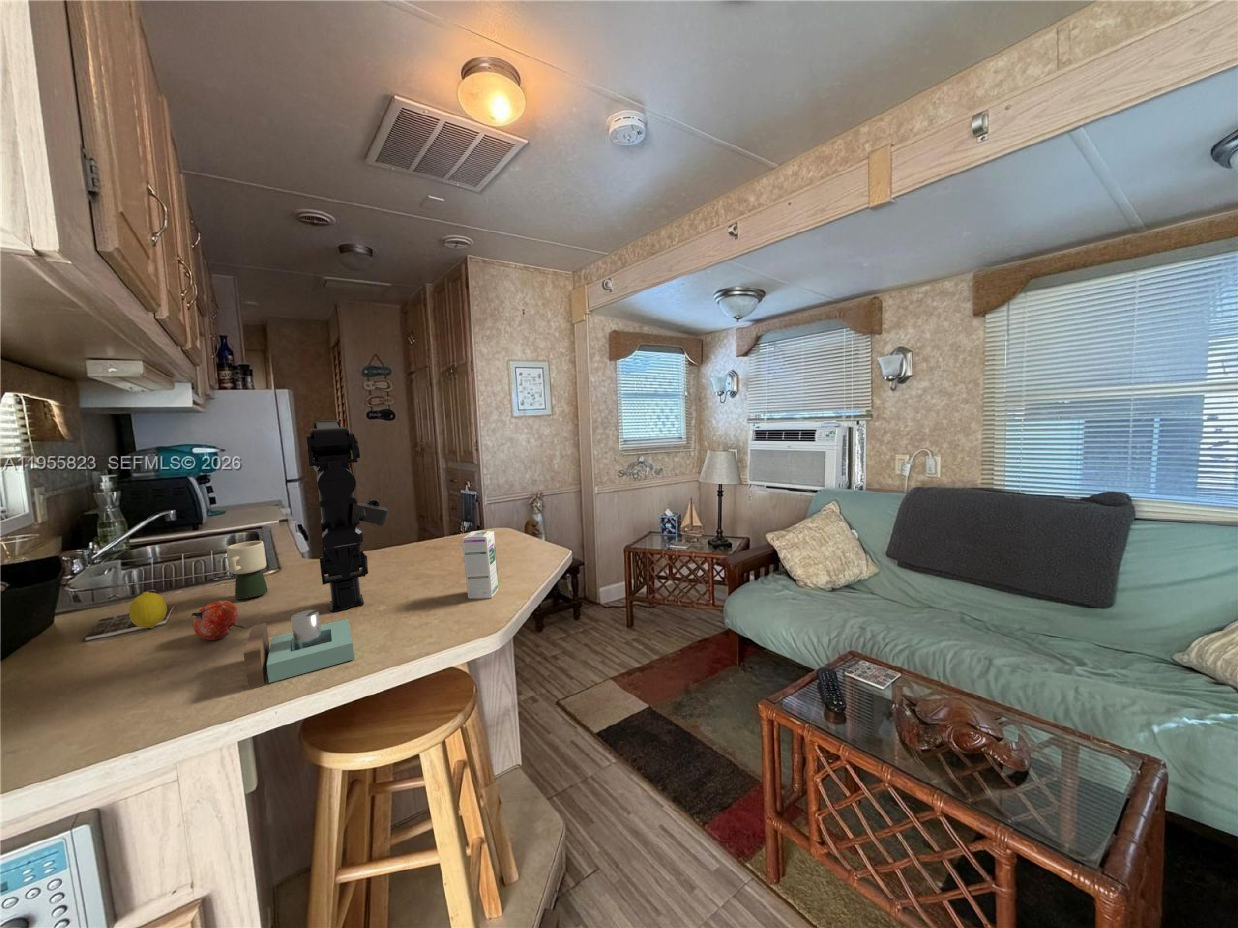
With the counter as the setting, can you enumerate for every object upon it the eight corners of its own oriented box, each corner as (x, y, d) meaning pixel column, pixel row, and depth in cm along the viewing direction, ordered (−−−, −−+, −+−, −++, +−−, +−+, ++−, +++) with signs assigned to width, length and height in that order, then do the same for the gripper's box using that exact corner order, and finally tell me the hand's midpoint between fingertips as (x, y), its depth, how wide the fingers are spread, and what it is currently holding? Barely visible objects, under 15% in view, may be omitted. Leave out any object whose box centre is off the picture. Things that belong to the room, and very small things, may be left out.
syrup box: (492, 598, 107) (488, 536, 105) (466, 599, 107) (461, 537, 106) (499, 589, 113) (495, 529, 111) (474, 589, 113) (470, 530, 111)
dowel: (296, 656, 84) (291, 613, 83) (323, 649, 86) (318, 607, 85) (296, 666, 81) (290, 621, 80) (323, 658, 83) (318, 615, 82)
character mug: (249, 589, 119) (243, 539, 118) (280, 587, 120) (274, 537, 119) (220, 607, 109) (212, 552, 107) (254, 604, 110) (247, 549, 108)
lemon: (175, 624, 100) (170, 588, 99) (142, 636, 95) (136, 598, 94) (159, 621, 102) (153, 585, 101) (125, 633, 97) (119, 595, 96)
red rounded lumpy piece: (226, 637, 98) (171, 625, 91) (250, 604, 100) (198, 589, 93) (238, 650, 94) (181, 638, 86) (262, 615, 96) (209, 600, 89)
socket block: (274, 652, 85) (272, 636, 85) (350, 633, 92) (348, 618, 92) (268, 682, 75) (266, 665, 75) (354, 659, 82) (352, 642, 81)
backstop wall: (256, 658, 84) (252, 625, 83) (270, 654, 85) (266, 622, 84) (248, 689, 74) (243, 653, 73) (264, 685, 75) (259, 649, 74)
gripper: (389, 493, 87) (397, 575, 89) (377, 483, 103) (384, 552, 105) (318, 502, 81) (328, 589, 83) (317, 489, 97) (325, 563, 99)
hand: (345, 571), depth 92 cm, fingers open, 9 cm apart
